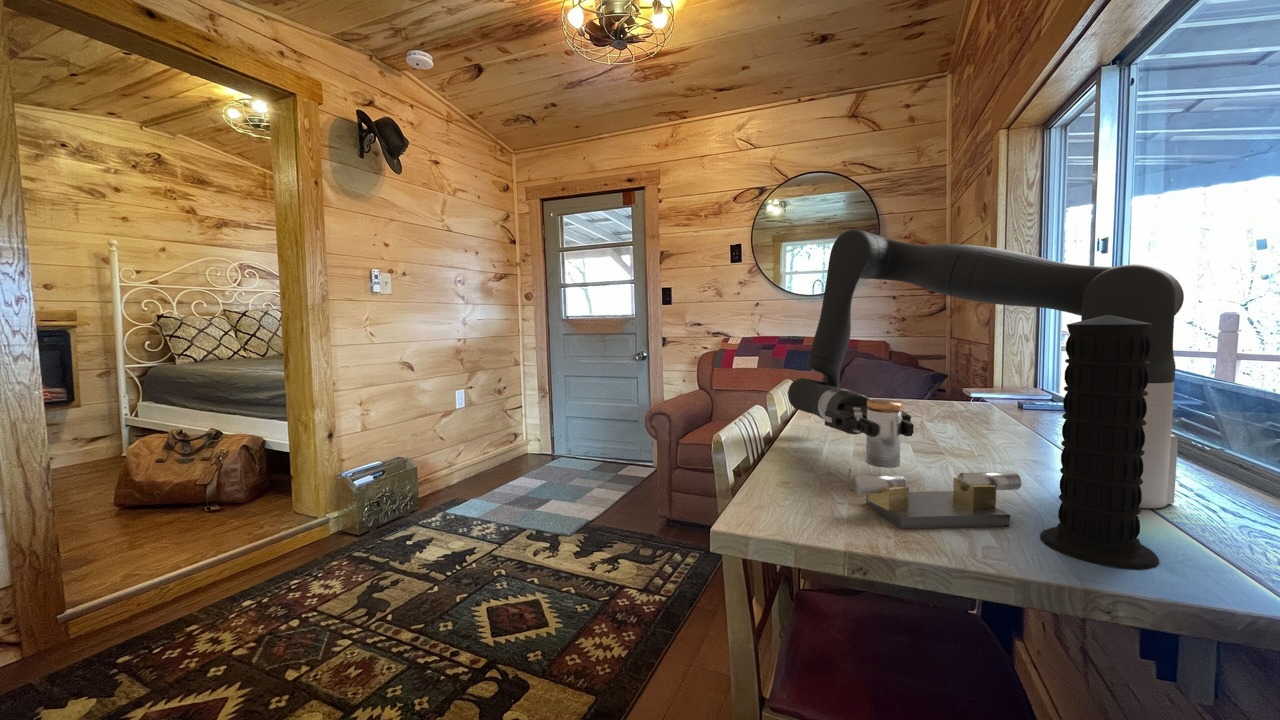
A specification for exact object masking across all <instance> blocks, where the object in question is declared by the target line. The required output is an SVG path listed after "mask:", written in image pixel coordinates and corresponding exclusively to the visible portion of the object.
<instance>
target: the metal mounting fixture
mask: <svg viewBox="0 0 1280 720" xmlns="http://www.w3.org/2000/svg"><path fill="white" fill-rule="evenodd" d="M852 483H853V489H854V492H855V493H856V494H858V495H864V494H865V495H866V499H865V501H866V505H868V506H869V507H871V509H873V510H875V511H876V512H878V513H879V514H880V515H882V516H883V517H884V518H885V519H886V520H888V521H889V522H890V523H892V524H893V525H894V526H896V527H897V528H898V529H901V530H905V529H906V530H908V529H911V530H912V529H913V530H914V529H915V530H916V529H944V528H945V529H946V528H947V529H948V528H949V529H950V528H951V529H952V528H979V527H980V528H981V527H982V528H983V527H1005V526H1004V525H1011V524H1010V523H1011V514H1010V513H1008V512H1007V511H1004V510H1002V509H1000V508H998V507H996V506H997V505H996V502H997V498H996V497H997V491H1017V490H1019V489H1021V487H1022V479H1021V476H1020V474H1019V473H1017V472H1015V471H992V472H991V471H987V472H986V471H985V472H983V471H982V472H960V473H959V474H958V476H957V477H955V476H954V477H953V487H952V488H953V490H941V491H939V490H937V491H935V490H934V491H909V489H910V488H909V486H907V482H906V479H905V477H904V475H902V474H869V475H866V474H863V475H862V474H860V475H859V474H858V475H854V477H853V480H852Z"/></svg>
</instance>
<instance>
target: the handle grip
mask: <svg viewBox="0 0 1280 720" xmlns="http://www.w3.org/2000/svg"><path fill="white" fill-rule="evenodd" d="M1151 326H1152V324H1151V323H1146V322H1141V321H1136V320H1131V319H1126V318H1121V317H1117V316H1112V315H1105V316H1101V317H1096V318H1092V319H1088V320H1084V321H1081V320H1080V321H1077V322H1071V323H1068V324H1066V328H1067V331H1068V333H1069V336H1068V337H1067V340H1066V342H1065V352H1066V355H1067V357H1068V358H1065V360H1064V362H1065V363H1066V364H1068V365H1067V366H1066V367H1065V370H1064V381H1065V385H1066V386H1064V387H1063V390H1064V391H1065V392H1066V394H1065V395H1064V398H1063V411H1064V414H1062V418H1063V419H1064V423H1063V425H1062V428H1061V436H1062V438H1063V440H1062V441H1061V443H1060V444H1061V446H1062V447H1063V450H1062V451H1061V454H1060V463H1061V468H1060V469H1059V471H1060V473H1061V474H1062V475H1061V477H1060V480H1059V490H1060V494H1059V495H1058V499H1059V501H1060V506H1059V507H1058V512H1057V514H1058V515H1057V516H1058V520H1059V523H1058V524H1057V525H1056V526H1054V527H1049V528H1047V529H1044V530H1043V531H1042V532H1041V533H1040V535H1039V538H1040V537H1041V539H1040V540H1041V542H1042V543H1043V544H1044V545H1046V546H1047V545H1048V546H1047V547H1049V548H1050V549H1052V550H1055V551H1057V552H1059V553H1061V554H1063V555H1066V556H1069V557H1071V558H1074V559H1077V560H1081V561H1084V562H1087V563H1091V564H1094V565H1101V566H1105V567H1111V568H1117V569H1123V570H1150V569H1153V568H1157V567H1158V566H1159V565H1160V564H1161V561H1160V559H1159V557H1158V556H1157V554H1156V553H1155V552H1154V551H1153V550H1152V549H1150V548H1149V547H1147V546H1146V545H1143V544H1142V543H1141V542H1140V541H1141V540H1140V539H1139V538H1138V537H1139V535H1140V534H1141V533H1140V532H1141V522H1140V519H1139V516H1138V515H1140V514H1141V513H1142V508H1140V507H1139V505H1140V503H1141V501H1142V491H1141V488H1140V485H1141V484H1143V480H1142V479H1141V476H1142V474H1143V461H1142V458H1141V456H1143V455H1144V453H1145V452H1144V451H1143V450H1142V448H1143V446H1144V444H1145V433H1144V430H1143V427H1142V426H1144V425H1146V421H1145V420H1143V419H1144V417H1145V415H1146V413H1147V404H1146V401H1145V398H1144V397H1143V396H1147V395H1148V392H1147V391H1144V390H1145V388H1146V387H1147V385H1148V379H1149V375H1148V372H1147V369H1146V368H1145V366H1147V365H1149V364H1150V363H1149V361H1145V360H1146V358H1147V357H1148V355H1149V353H1150V341H1149V338H1148V337H1147V333H1149V331H1150V329H1151Z"/></svg>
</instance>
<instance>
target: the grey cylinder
mask: <svg viewBox="0 0 1280 720" xmlns="http://www.w3.org/2000/svg"><path fill="white" fill-rule="evenodd" d="M902 411H903V402H902V401H900V400H896V399H895V400H894V399H883V398H878V399H876V398H875V399H874V398H873V399H870V400H867V420H870V421H872V422H874V423H876V424H877V436H876V437H870V436H868V435H866V434H865V440H866V441H865V442H866V443H865V463H866V464H868V465H870V466H873V467H876V468H884V469H885V468H886V469H894V468H898V467H900V466H901V450H902V449H901V445H902V434H901V421H902Z"/></svg>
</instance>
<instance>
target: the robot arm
mask: <svg viewBox="0 0 1280 720" xmlns="http://www.w3.org/2000/svg"><path fill="white" fill-rule="evenodd" d="M826 273H827V274H826V281H825V285H824V286H825V287H824V293H823V299H822V305H821V310H820V317H819V320H818V324H817V327H816V330H815V334H814V337H813V340H812V344H811V347H810V349H809V353H808V356H807V361H806V364H807V365H808V367H809V368H811V369H812V370H813V371H816V372H818V373H819V374H822V376H823V380H822V381H820V380H816V379H815V380H814V379H810V378H805V377H800V378H797V379H795V380H793V382H791V383H790V385H789V387H788V391H787V399H788V401H789V404H790V405H791V407H793V408H794V409H795V410H798V411H801V412H804V413H807V414H808V413H809V414H811V415H815V416H817V417H819V418H820V419H822V420H824V425H825V426H826V427H829V428H832V429H835V430H838V431H842V432H843V433H845V434H848V435H861V434H864V435H865V436H866V435H868V436H870V437H876V436H877V424H876V423H874V422H872V421H870V420H867V400H871V399H870V398H869V397H868V396H867V395H864V394H862V393H860V392H859V393H858V392H856V391H853V390H849V389H847V388H840V379H841V378H840V377H841V369H842V364H843V361H844V359H845V355H846V352H847V350H848V346H849V343H850V339H851V332H852V331H851V330H852V329H851V328H852V327H851V326H852V324H851V321H852V319H851V314H852V313H851V311H852V310H851V309H852V300H853V297H854V293H855V289H856V288H857V287H856V286H857V284H858V281H859V280H860V279H865V280H880V281H881V280H885V281H894V282H902V283H903V282H904V283H908V284H912V285H914V286H917V287H920V288H923V289H926V290H928V291H931V292H934V293H938V294H941V295H944V296H949V297H953V298H957V299H962V300H967V301H971V302H978V303H982V304H983V303H985V304H992V305H999V306H1000V305H1001V306H1011V307H1012V306H1013V307H1030V308H1040V309H1041V308H1042V309H1049V310H1055V311H1060V312H1065V313H1069V314H1072V315H1077V316H1080V317H1081V319H1080V321H1084V320H1088V319H1092V318H1096V317H1101V316H1105V315H1112V316H1117V317H1121V318H1126V319H1131V320H1136V321H1141V322H1146V323H1151V324H1152V326H1151V329H1150V331H1149V333H1147V337H1148V338H1149V341H1150V353H1149V355H1148V357H1147V358H1146V360H1145V361H1149V363H1150V364H1149V365H1147V366H1145V368H1146V369H1147V372H1148V375H1149V379H1148V385H1147V387H1146V388H1145V390H1144V391H1147V392H1148V395H1147V396H1143V397H1144V398H1145V401H1146V404H1147V413H1146V415H1145V417H1144V419H1143V420H1145V421H1146V425H1144V426H1142V427H1143V430H1144V433H1145V444H1144V446H1143V448H1142V450H1143V451H1144V452H1145V453H1144V455H1143V456H1141V458H1142V461H1143V474H1142V476H1141V479H1142V480H1143V484H1141V485H1140V488H1141V491H1142V501H1141V503H1140V505H1139V507H1140V509H1161V508H1165V507H1167V505H1170V504H1175V496H1176V495H1175V494H1176V493H1175V492H1176V479H1177V477H1176V476H1177V460H1178V459H1177V458H1178V443H1179V438H1178V436H1176V435H1174V434H1172V430H1173V429H1172V427H1173V415H1174V413H1173V412H1174V411H1173V409H1174V394H1175V393H1174V392H1175V381H1176V380H1175V379H1176V361H1175V355H1174V333H1175V332H1174V329H1175V327H1174V326H1175V316H1176V315H1177V314H1178V313H1179V312H1180V311H1181V308H1182V306H1183V305H1184V300H1185V296H1184V293H1185V292H1184V289H1183V287H1182V285H1181V284H1180V282H1179V281H1178V280H1177V279H1176V278H1175V277H1174V276H1173V275H1172V274H1171V273H1169V272H1167V271H1165V270H1162V269H1161V268H1158V267H1157V268H1156V267H1153V266H1148V265H1144V264H1134V263H1132V264H1123V265H1117V266H1098V265H1087V264H1086V265H1083V264H1075V263H1074V264H1073V263H1067V262H1061V261H1055V260H1051V259H1047V258H1044V257H1040V256H1036V255H1032V254H1028V253H1024V252H1017V251H1013V250H1009V249H1003V248H998V247H992V246H989V247H988V246H981V245H974V244H961V243H959V244H958V243H952V244H951V243H949V244H948V243H947V244H944V243H943V244H930V245H929V244H928V245H926V244H925V245H923V244H913V243H907V242H903V241H899V240H894V239H890V238H887V237H884V236H881V235H878V234H875V233H871V232H868V231H865V230H862V229H848V230H846V231H844V232H842V233H841V234H840V235H839V236H838V237H837V238H836V240H835V241H834V243H833V245H832V246H831V251H830V254H829V259H828V265H827V272H826ZM911 419H912V415H910V414H909V413H907V412H906V411H904V410H902V421H901V436H905V437H912V436H913V434H914V428H915V427H914V423H913V422H911V421H912V420H911Z"/></svg>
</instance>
